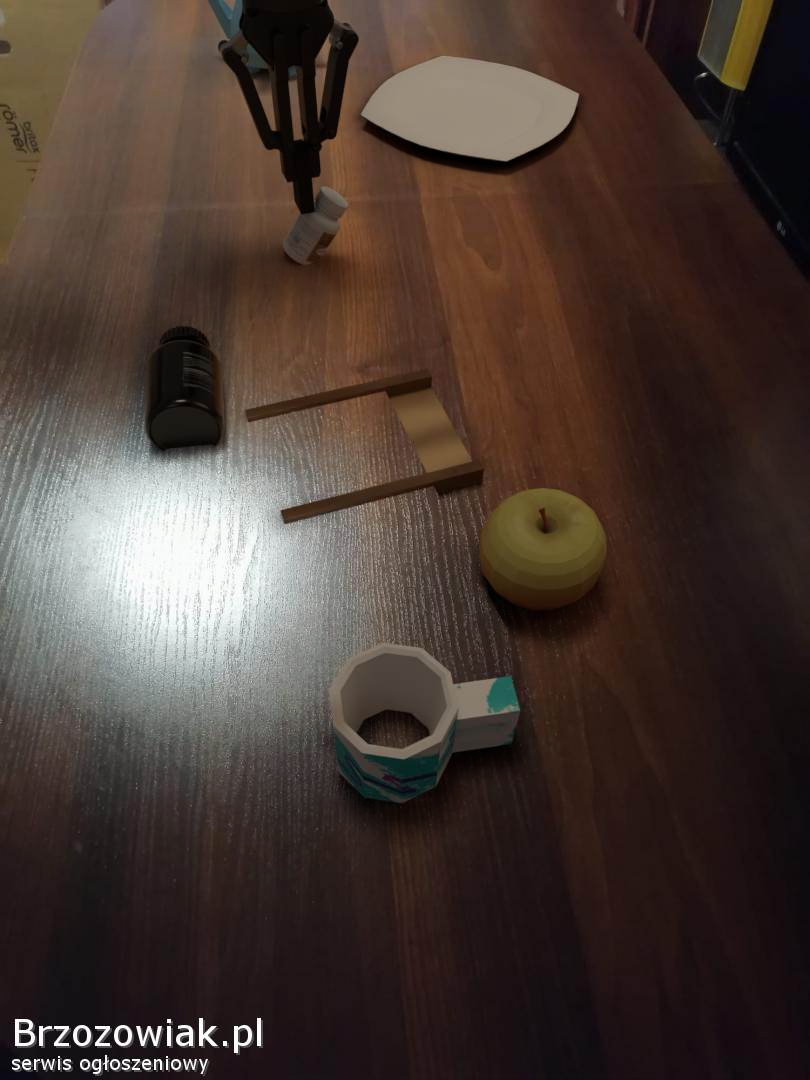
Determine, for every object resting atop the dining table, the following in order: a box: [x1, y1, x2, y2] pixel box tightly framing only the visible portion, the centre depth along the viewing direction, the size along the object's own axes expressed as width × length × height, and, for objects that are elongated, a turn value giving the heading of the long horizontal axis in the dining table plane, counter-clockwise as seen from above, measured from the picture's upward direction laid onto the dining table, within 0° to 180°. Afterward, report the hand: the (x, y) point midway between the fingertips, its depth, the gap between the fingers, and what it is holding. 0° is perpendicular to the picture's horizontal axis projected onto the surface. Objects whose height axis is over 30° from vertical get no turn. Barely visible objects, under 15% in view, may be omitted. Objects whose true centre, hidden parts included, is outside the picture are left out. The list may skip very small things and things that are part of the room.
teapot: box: [207, 0, 296, 77], centre depth 124 cm, size 15×14×11 cm
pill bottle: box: [281, 186, 349, 266], centre depth 93 cm, size 4×4×8 cm
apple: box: [478, 487, 608, 611], centre depth 67 cm, size 10×10×8 cm
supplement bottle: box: [144, 325, 225, 452], centre depth 79 cm, size 7×7×12 cm
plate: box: [360, 55, 580, 163], centre depth 118 cm, size 27×27×2 cm
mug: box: [328, 642, 521, 804], centre depth 57 cm, size 8×12×8 cm
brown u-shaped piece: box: [244, 368, 485, 524], centre depth 78 cm, size 14×18×2 cm
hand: (304, 206), depth 91 cm, fingers closed
